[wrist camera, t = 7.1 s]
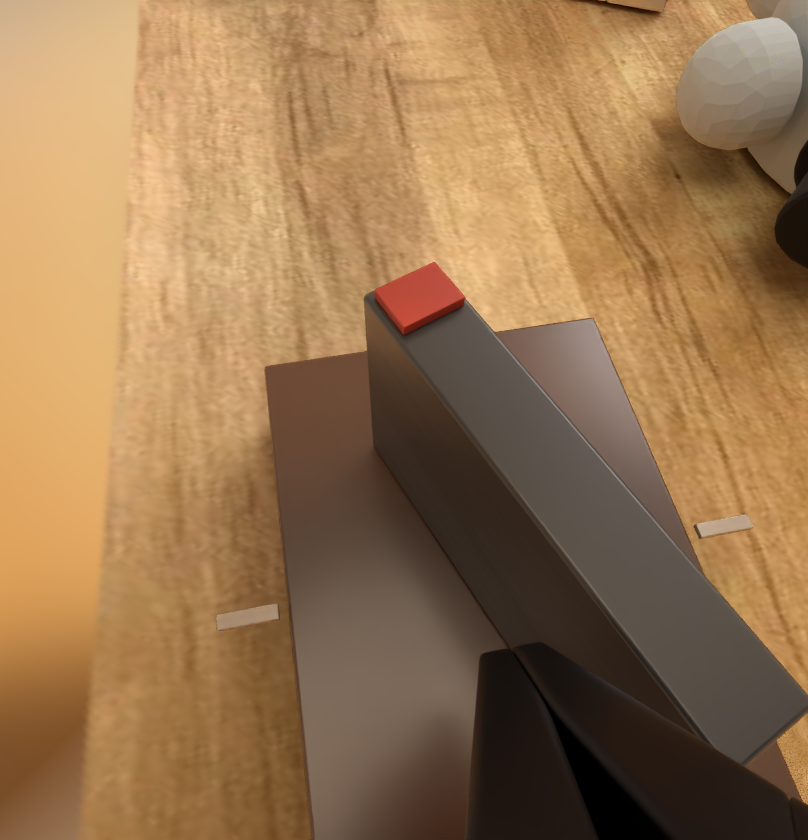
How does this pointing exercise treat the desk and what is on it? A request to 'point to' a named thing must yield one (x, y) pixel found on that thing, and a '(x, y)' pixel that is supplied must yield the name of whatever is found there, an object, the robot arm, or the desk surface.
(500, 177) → the desk surface
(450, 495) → the dial pointer
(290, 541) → the dial panel
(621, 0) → the stack of blocks
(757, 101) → the figurine
